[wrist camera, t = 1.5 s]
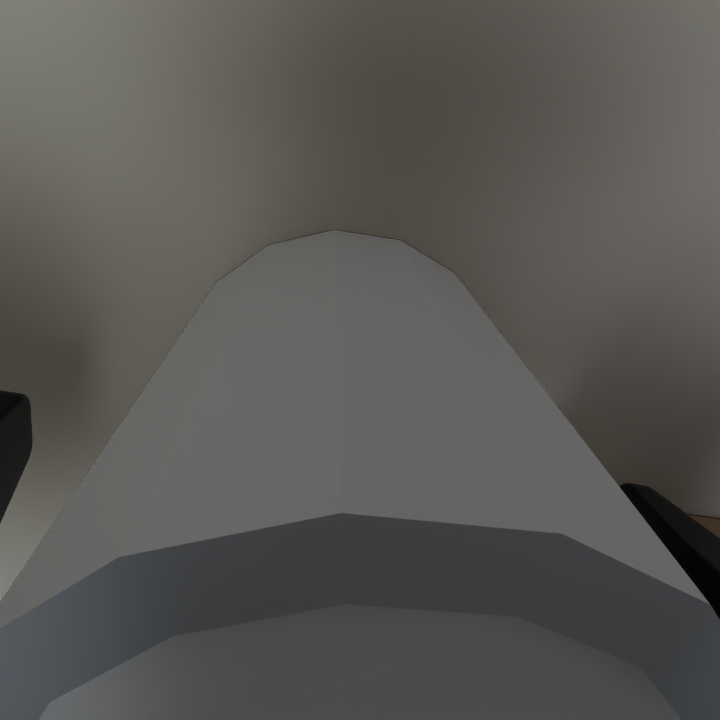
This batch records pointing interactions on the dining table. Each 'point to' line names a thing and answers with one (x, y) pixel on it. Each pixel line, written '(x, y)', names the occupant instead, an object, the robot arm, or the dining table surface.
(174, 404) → the shot glass
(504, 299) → the dining table surface
